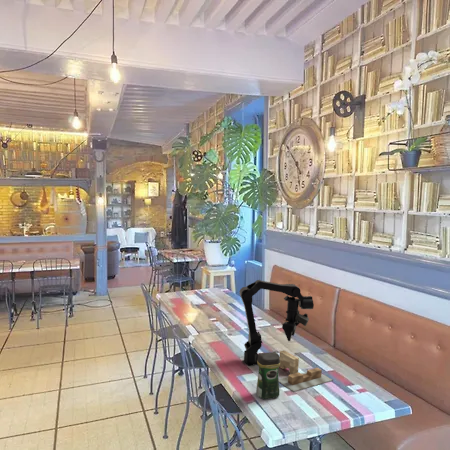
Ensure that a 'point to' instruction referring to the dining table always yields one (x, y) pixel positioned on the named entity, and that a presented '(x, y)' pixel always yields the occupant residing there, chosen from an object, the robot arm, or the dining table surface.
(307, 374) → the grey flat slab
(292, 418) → the dining table surface
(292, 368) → the birch plate
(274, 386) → the coffee jar
